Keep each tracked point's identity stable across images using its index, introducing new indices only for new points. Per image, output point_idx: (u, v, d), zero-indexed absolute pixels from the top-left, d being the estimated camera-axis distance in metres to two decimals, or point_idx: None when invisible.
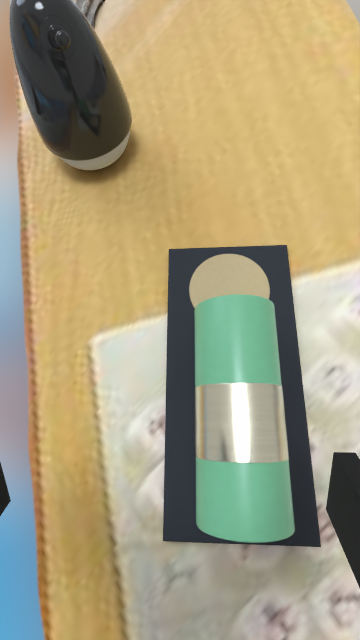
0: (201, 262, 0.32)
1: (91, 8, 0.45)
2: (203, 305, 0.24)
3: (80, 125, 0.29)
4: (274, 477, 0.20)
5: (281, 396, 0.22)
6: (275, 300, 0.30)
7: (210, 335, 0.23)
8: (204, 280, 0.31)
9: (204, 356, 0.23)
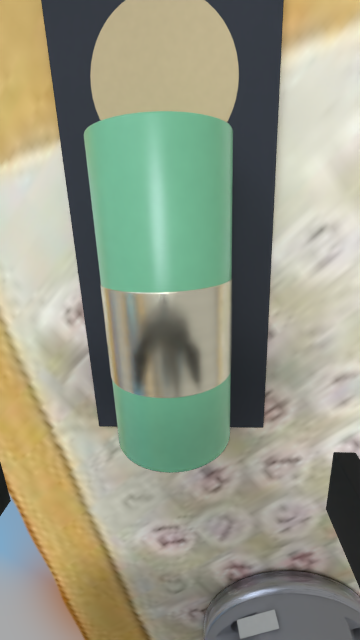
0: (108, 14, 0.16)
1: None
2: (89, 136, 0.12)
3: None
4: (203, 407, 0.15)
5: (226, 299, 0.15)
6: (247, 104, 0.16)
7: (105, 204, 0.13)
8: (116, 63, 0.16)
9: (101, 241, 0.14)
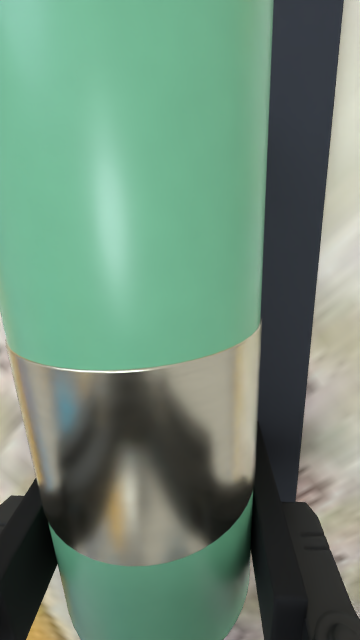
0: None
1: None
2: None
3: None
4: (206, 570, 0.08)
5: (252, 365, 0.07)
6: None
7: None
8: None
9: None
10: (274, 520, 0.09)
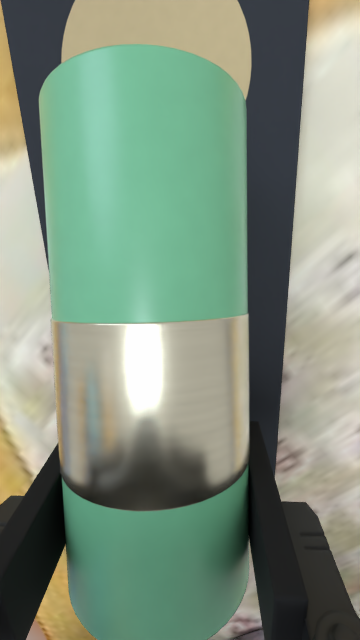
0: None
1: None
2: (42, 99, 0.09)
3: None
4: (206, 528, 0.09)
5: (241, 341, 0.09)
6: (261, 102, 0.13)
7: (56, 189, 0.08)
8: None
9: (51, 249, 0.09)
10: (274, 520, 0.09)
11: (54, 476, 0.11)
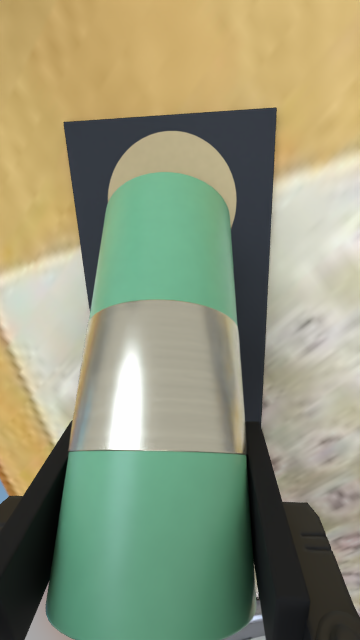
0: (123, 151, 0.18)
1: None
2: (111, 200, 0.15)
3: None
4: (205, 484, 0.09)
5: (232, 336, 0.12)
6: (243, 223, 0.19)
7: (112, 236, 0.13)
8: None
9: (100, 271, 0.13)
10: (275, 520, 0.09)
11: (53, 476, 0.11)
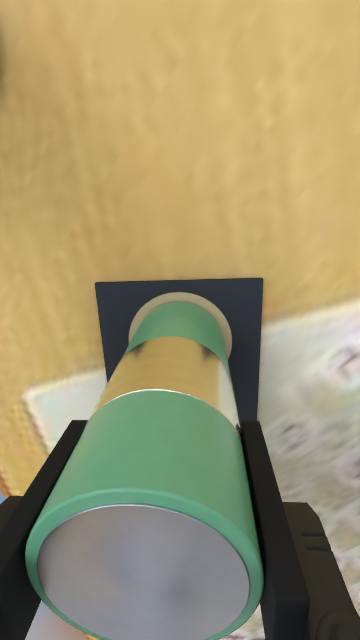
0: (142, 305, 0.23)
1: None
2: (143, 319, 0.22)
3: None
4: (204, 416, 0.11)
5: (226, 373, 0.16)
6: (237, 357, 0.24)
7: (142, 326, 0.20)
8: None
9: (131, 342, 0.19)
10: (275, 520, 0.09)
11: (53, 476, 0.11)
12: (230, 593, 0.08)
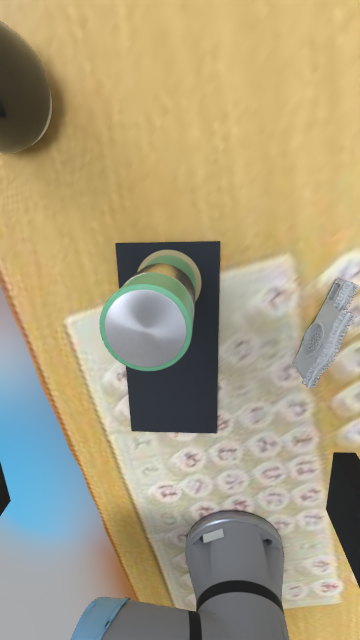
0: (144, 257, 0.36)
1: None
2: None
3: None
4: (173, 280, 0.24)
5: (190, 282, 0.29)
6: (205, 293, 0.37)
7: None
8: None
9: None
10: None
11: None
12: (178, 333, 0.22)
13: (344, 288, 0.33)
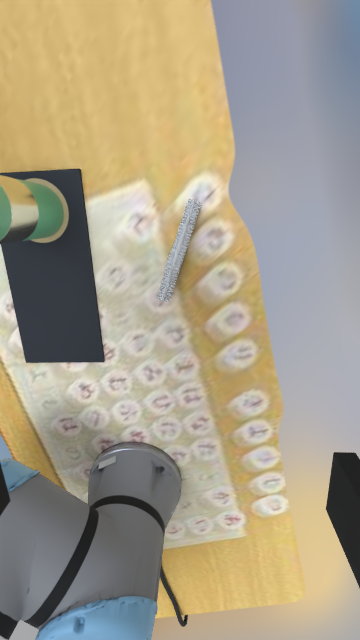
0: None
1: None
2: None
3: None
4: None
5: (27, 192, 0.32)
6: (73, 220, 0.40)
7: None
8: None
9: None
10: None
11: None
12: None
13: (188, 206, 0.36)
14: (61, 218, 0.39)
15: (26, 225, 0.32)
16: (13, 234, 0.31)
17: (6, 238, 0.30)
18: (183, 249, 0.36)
